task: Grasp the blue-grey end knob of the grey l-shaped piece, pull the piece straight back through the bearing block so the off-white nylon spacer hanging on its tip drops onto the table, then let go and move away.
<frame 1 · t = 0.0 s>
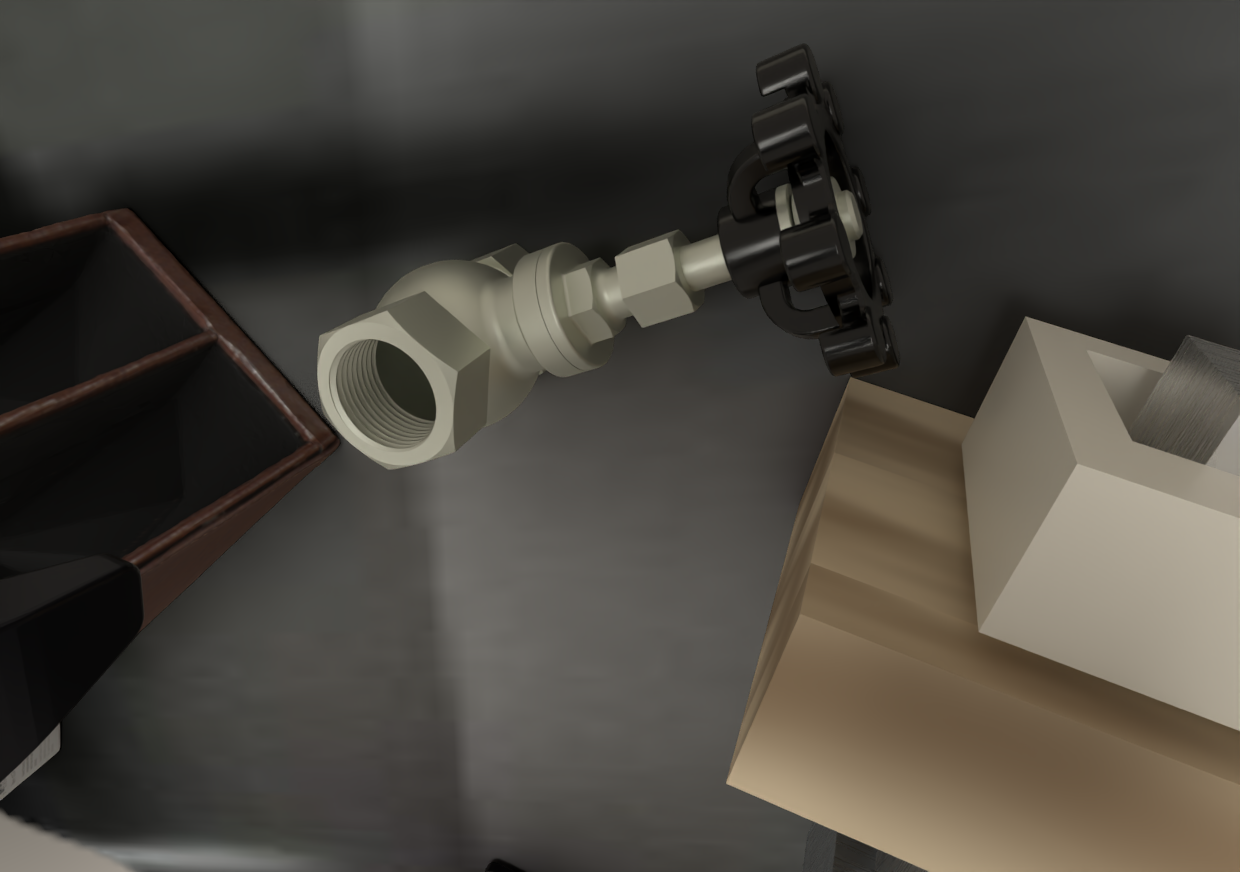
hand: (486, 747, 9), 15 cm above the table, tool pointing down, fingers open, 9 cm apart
ink box: (26, 673, 40), on the table
spacer: (1169, 440, 16), point 3 cm above the table, touching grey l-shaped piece
letter holder: (125, 468, 32), on the table
bearing block: (1053, 524, 21), on the table
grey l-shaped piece: (1056, 811, 16), point 8 cm above the table, slide at 0.0 cm, touching spacer
valve: (638, 264, 22), on the table
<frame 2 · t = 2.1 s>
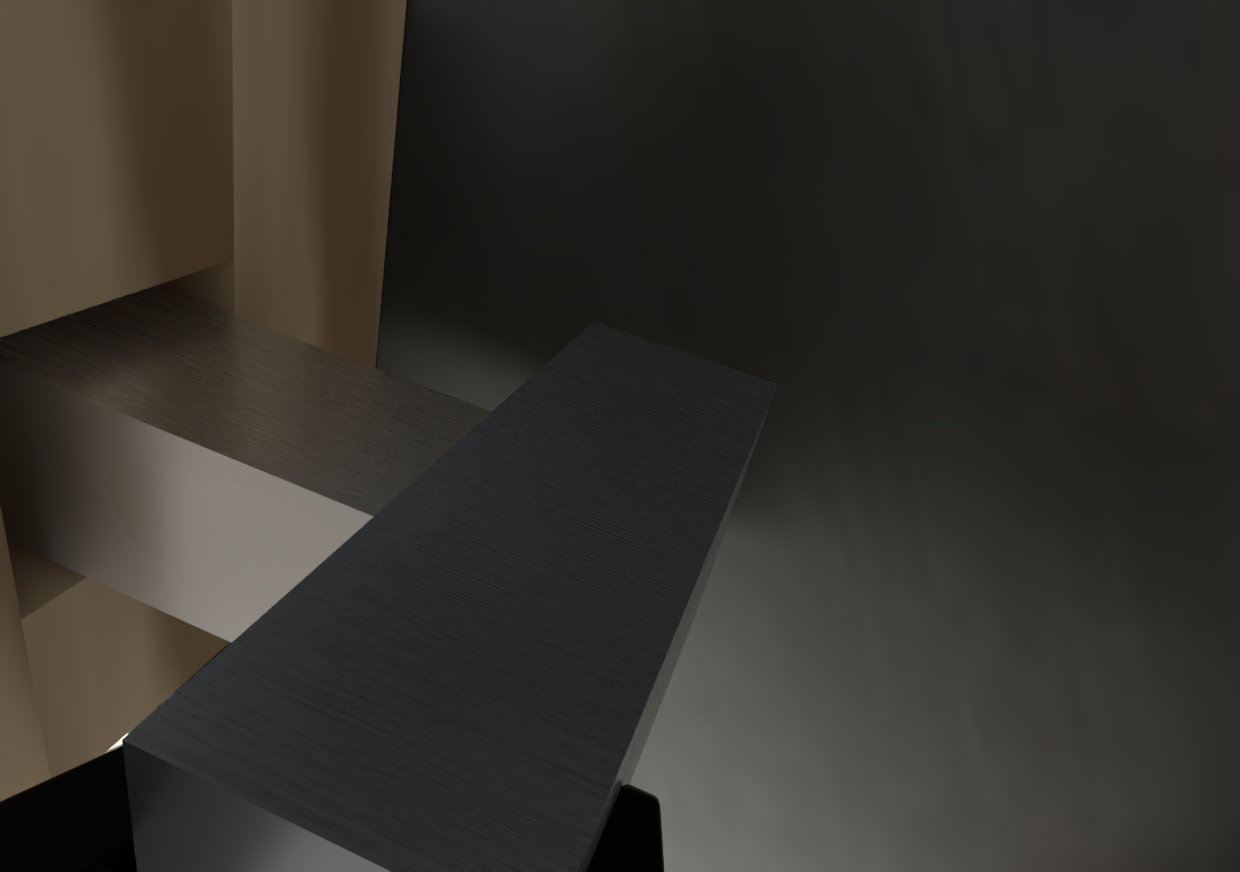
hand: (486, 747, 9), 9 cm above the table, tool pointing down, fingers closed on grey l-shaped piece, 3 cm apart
bearing block: (300, 274, 18), on the table
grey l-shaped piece: (75, 458, 11), point 7 cm above the table, slide at 0.0 cm, touching gripper, spacer
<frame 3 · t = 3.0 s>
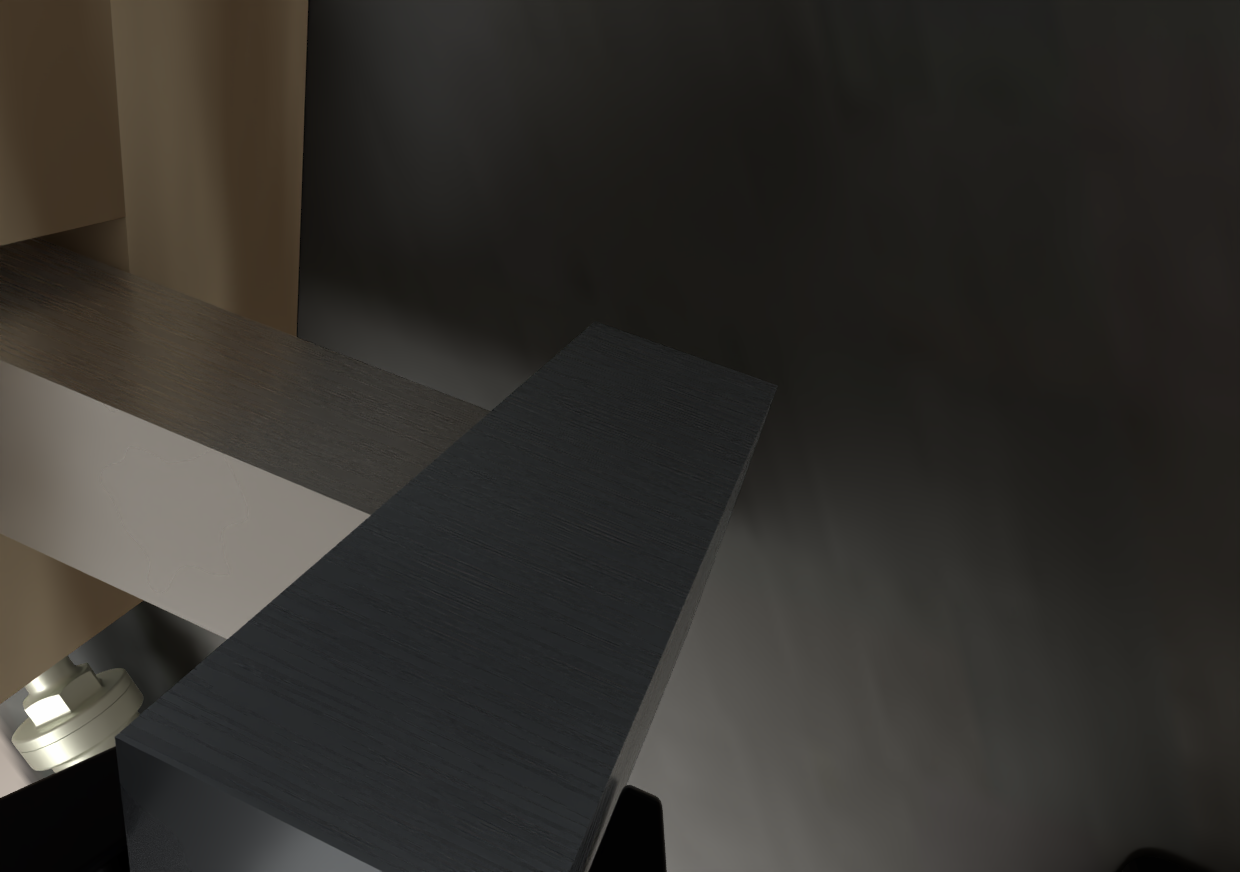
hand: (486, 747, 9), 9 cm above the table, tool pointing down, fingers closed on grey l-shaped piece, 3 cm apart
bearing block: (221, 243, 18), on the table
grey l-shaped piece: (75, 455, 11), point 7 cm above the table, slide at 2.1 cm, touching gripper
valve: (164, 618, 26), on the table
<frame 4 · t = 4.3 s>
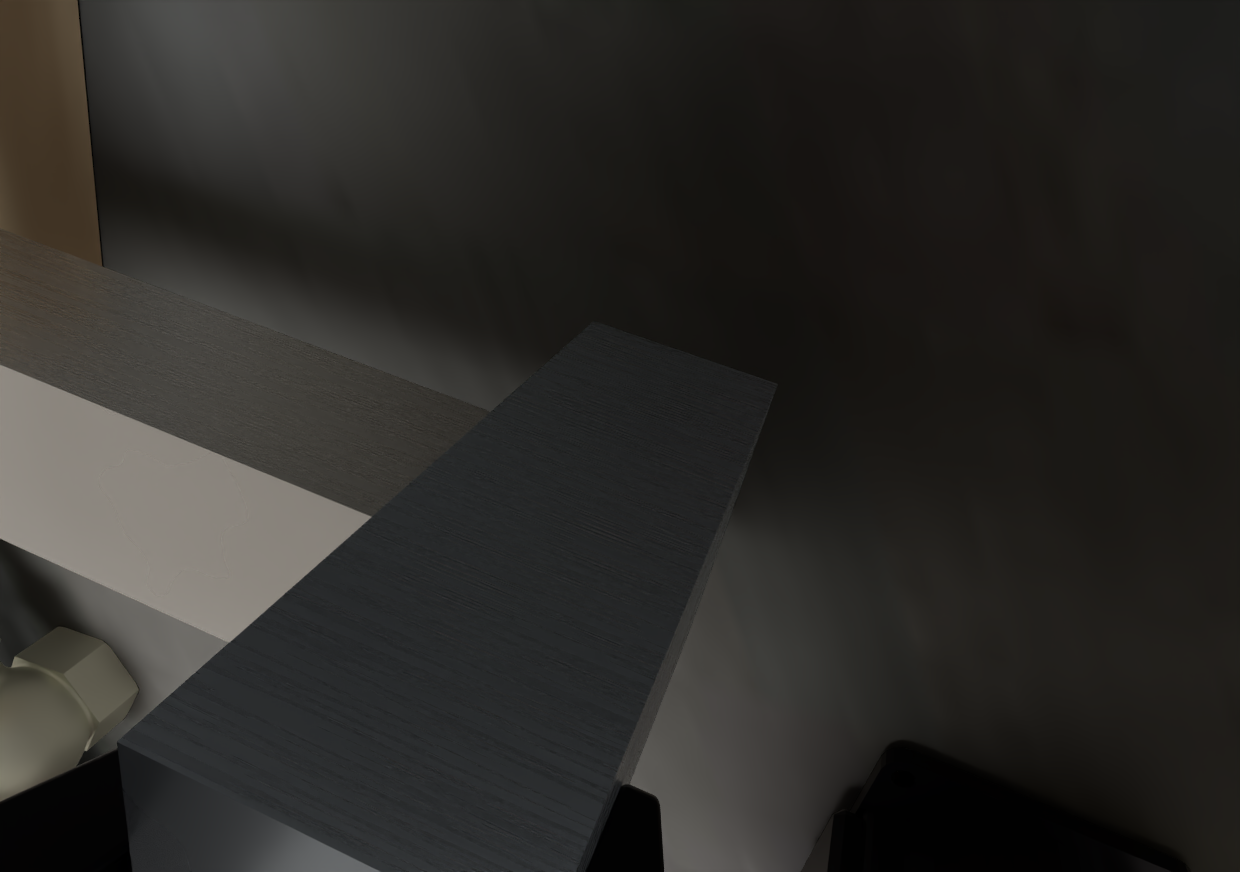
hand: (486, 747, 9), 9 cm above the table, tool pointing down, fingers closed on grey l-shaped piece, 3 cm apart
bearing block: (26, 176, 19), on the table
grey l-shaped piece: (74, 458, 11), point 7 cm above the table, slide at 7.4 cm, touching gripper
valve: (31, 569, 27), on the table
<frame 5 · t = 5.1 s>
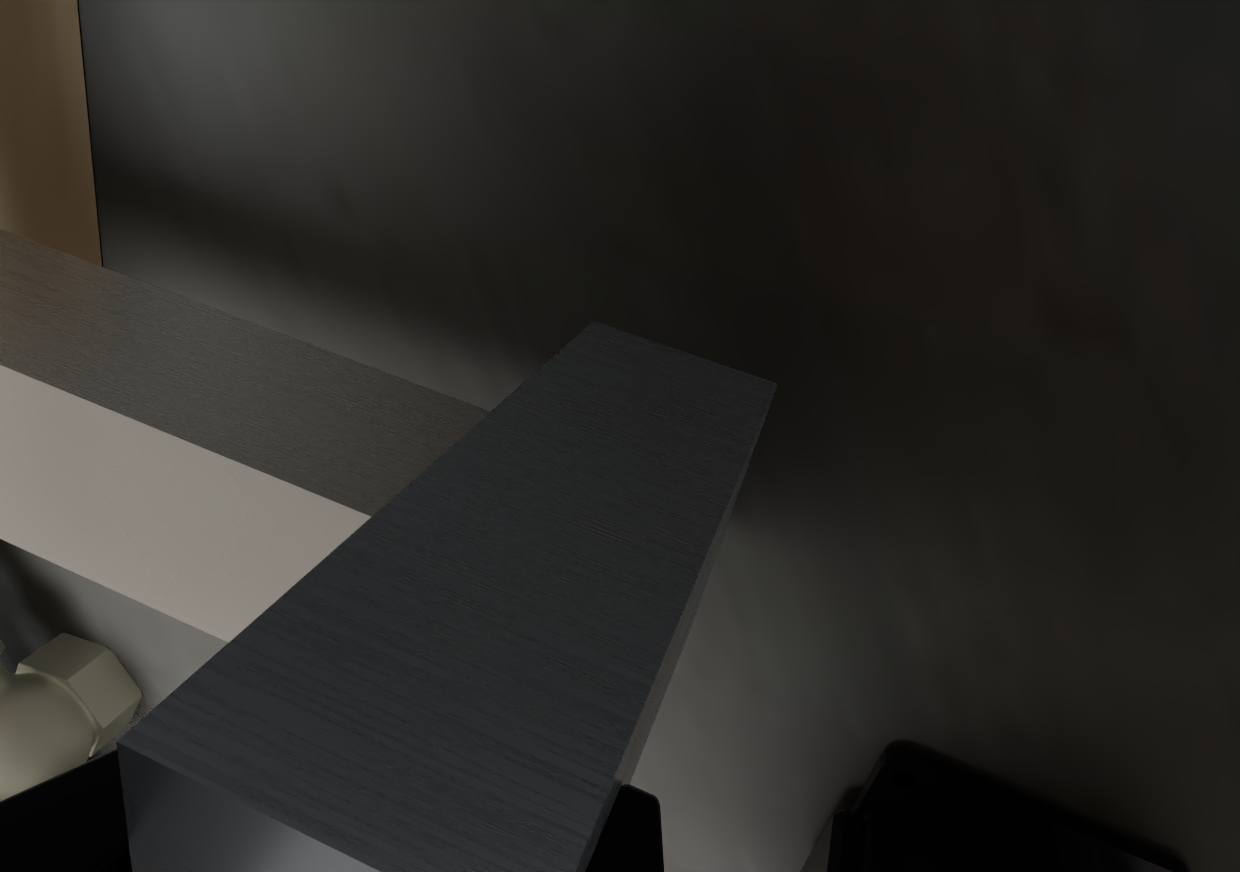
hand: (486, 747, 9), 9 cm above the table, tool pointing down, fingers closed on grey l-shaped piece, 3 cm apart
bearing block: (25, 176, 19), on the table
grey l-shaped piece: (74, 458, 11), point 7 cm above the table, slide at 7.5 cm, touching gripper
valve: (34, 576, 27), on the table
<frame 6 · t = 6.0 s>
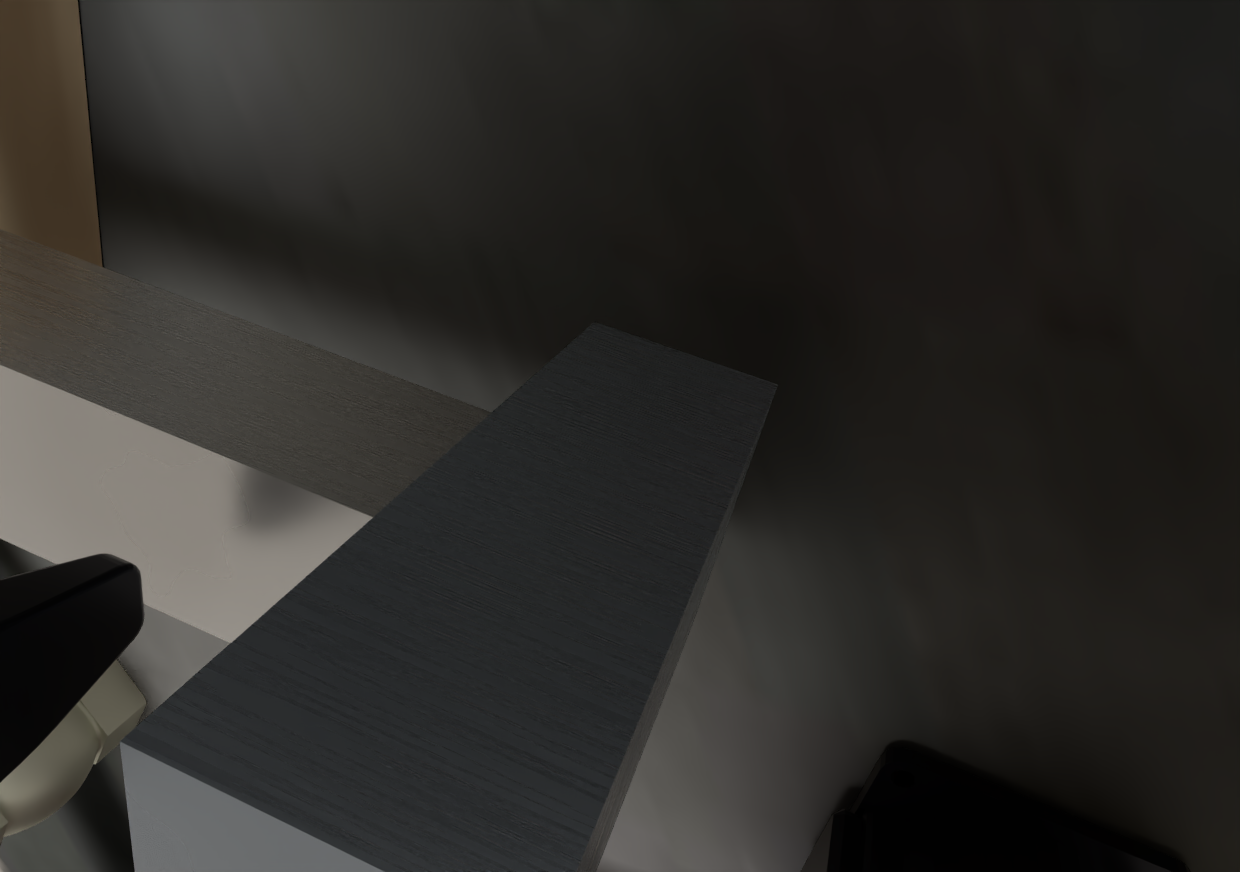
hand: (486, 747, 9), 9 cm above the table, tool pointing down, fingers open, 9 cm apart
bearing block: (26, 177, 19), on the table
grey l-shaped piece: (75, 459, 11), point 8 cm above the table, slide at 7.5 cm
valve: (38, 585, 27), on the table
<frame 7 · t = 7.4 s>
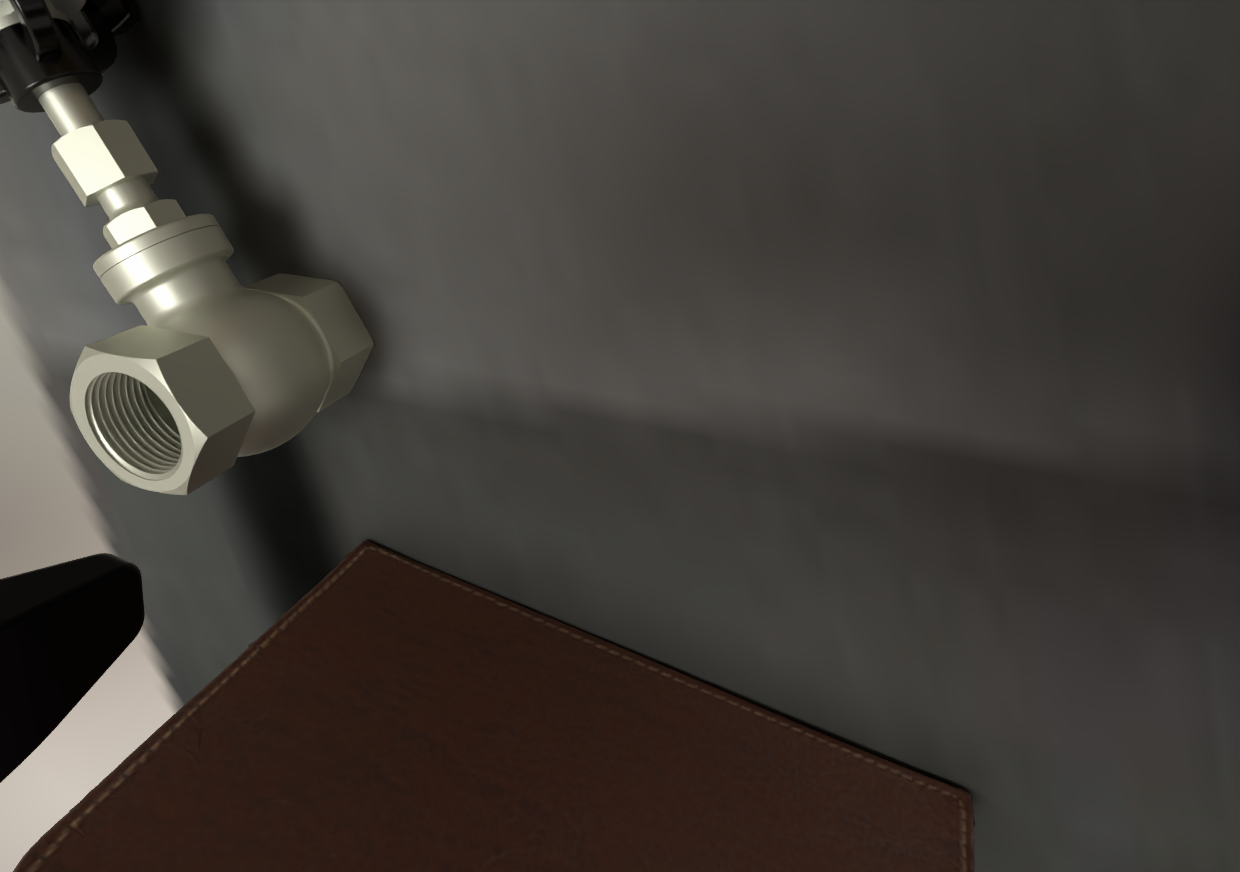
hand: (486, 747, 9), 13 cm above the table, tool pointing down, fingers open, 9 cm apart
letter holder: (616, 753, 28), on the table
valve: (248, 204, 23), on the table
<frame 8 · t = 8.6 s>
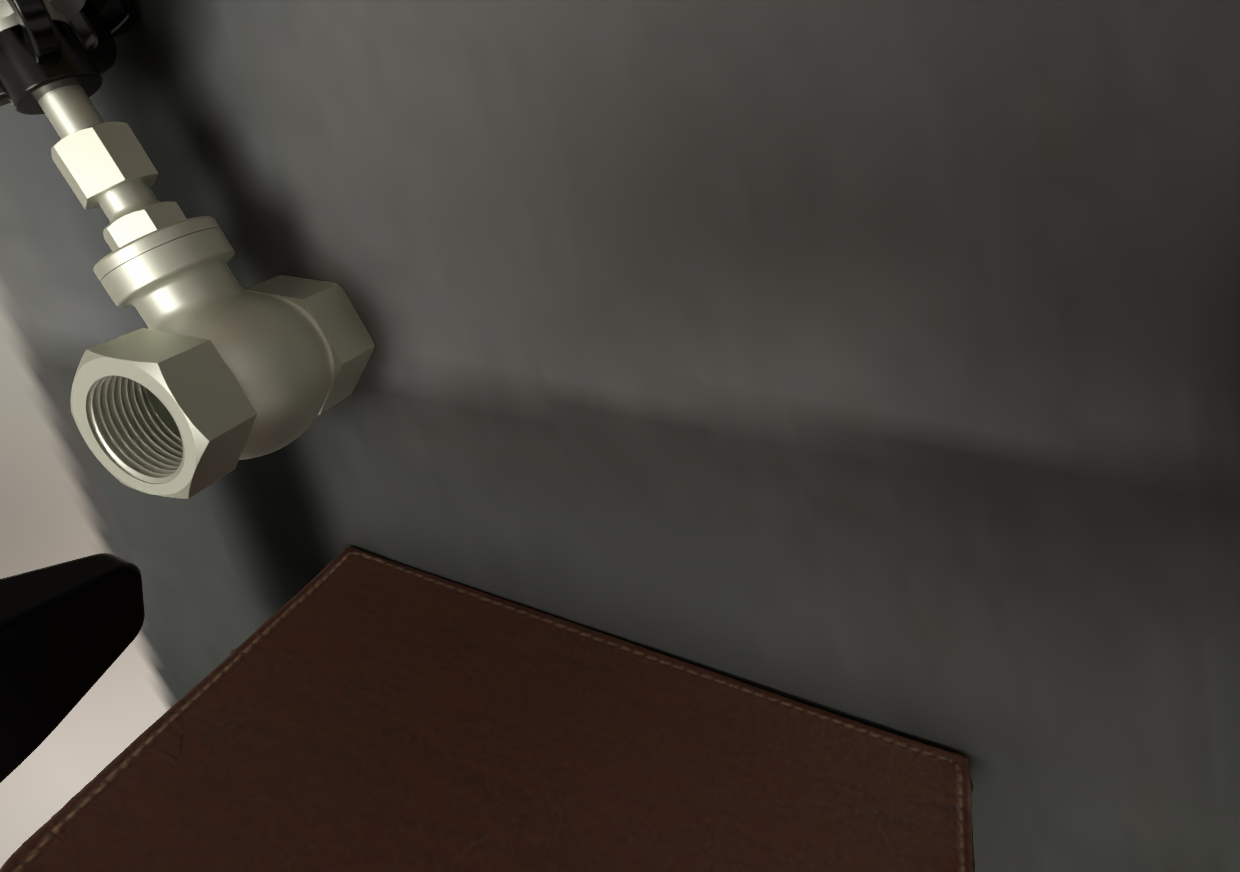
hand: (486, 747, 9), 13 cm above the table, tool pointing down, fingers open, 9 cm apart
letter holder: (615, 745, 28), on the table
valve: (248, 206, 23), on the table
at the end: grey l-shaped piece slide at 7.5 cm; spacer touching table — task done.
